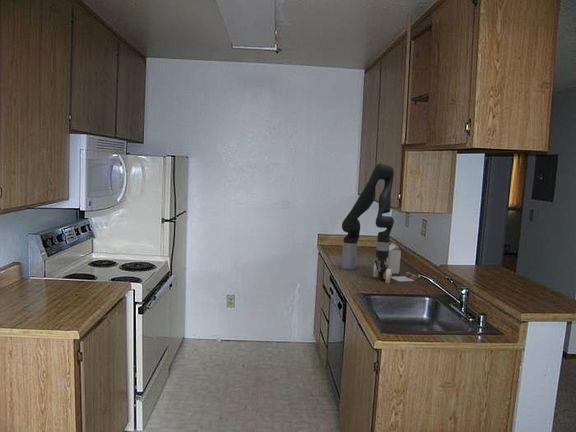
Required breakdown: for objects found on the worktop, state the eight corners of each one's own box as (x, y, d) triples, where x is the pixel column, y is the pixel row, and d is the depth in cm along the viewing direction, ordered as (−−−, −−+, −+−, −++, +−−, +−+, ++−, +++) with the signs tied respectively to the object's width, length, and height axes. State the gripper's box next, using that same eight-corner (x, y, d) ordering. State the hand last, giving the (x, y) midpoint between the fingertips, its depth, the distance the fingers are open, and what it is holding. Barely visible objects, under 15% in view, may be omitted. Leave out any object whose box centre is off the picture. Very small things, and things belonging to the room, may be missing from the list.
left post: (372, 276, 298) (373, 263, 297) (376, 276, 299) (377, 263, 298) (374, 277, 296) (375, 264, 295) (378, 277, 297) (379, 264, 296)
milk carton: (389, 273, 307) (391, 244, 305) (384, 271, 314) (386, 242, 312) (399, 273, 309) (401, 244, 307) (393, 271, 316) (396, 242, 314)
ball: (387, 267, 293) (392, 275, 294) (378, 272, 293) (383, 280, 293) (390, 269, 287) (395, 277, 288) (381, 274, 287) (386, 282, 287)
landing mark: (389, 277, 298) (389, 276, 298) (404, 276, 302) (404, 276, 302) (398, 281, 288) (398, 281, 288) (414, 280, 291) (414, 280, 291)
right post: (384, 282, 284) (385, 268, 283) (388, 282, 285) (389, 268, 284) (386, 283, 282) (388, 269, 281) (390, 283, 282) (391, 269, 282)
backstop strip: (405, 276, 301) (405, 272, 301) (407, 276, 302) (408, 272, 302) (414, 280, 292) (414, 275, 292) (416, 280, 293) (417, 275, 292)
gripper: (371, 247, 293) (369, 275, 294) (382, 251, 280) (380, 280, 282) (383, 247, 295) (380, 275, 297) (393, 251, 282) (391, 280, 284)
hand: (380, 277), depth 289 cm, fingers closed
